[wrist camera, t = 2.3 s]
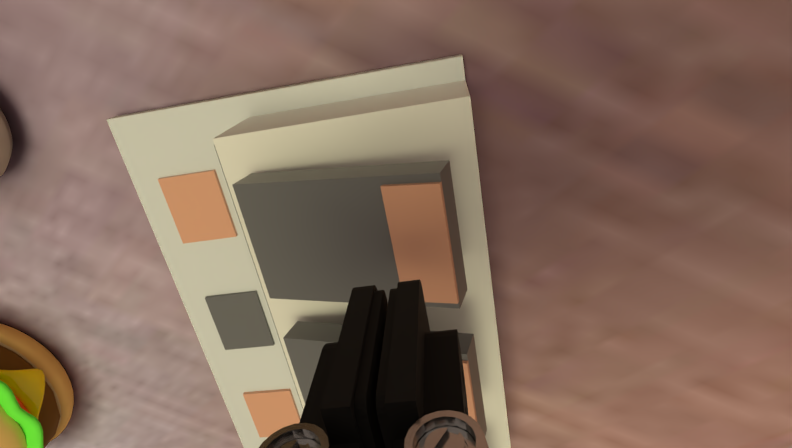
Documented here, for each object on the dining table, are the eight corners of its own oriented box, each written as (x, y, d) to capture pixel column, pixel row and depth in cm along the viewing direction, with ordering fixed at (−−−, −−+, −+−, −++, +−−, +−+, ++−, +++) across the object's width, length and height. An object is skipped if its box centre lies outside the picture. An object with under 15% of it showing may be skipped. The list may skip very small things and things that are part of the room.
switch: (449, 160, 16) (438, 174, 15) (467, 289, 18) (459, 311, 17) (251, 173, 19) (229, 186, 18) (285, 282, 21) (268, 300, 20)
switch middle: (473, 333, 19) (466, 357, 17) (486, 429, 21) (480, 455, 19) (297, 320, 22) (281, 339, 20) (323, 404, 24) (310, 426, 22)
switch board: (461, 54, 21) (467, 69, 16) (508, 446, 31) (520, 530, 26) (116, 115, 24) (32, 145, 19) (257, 460, 33) (225, 539, 28)
